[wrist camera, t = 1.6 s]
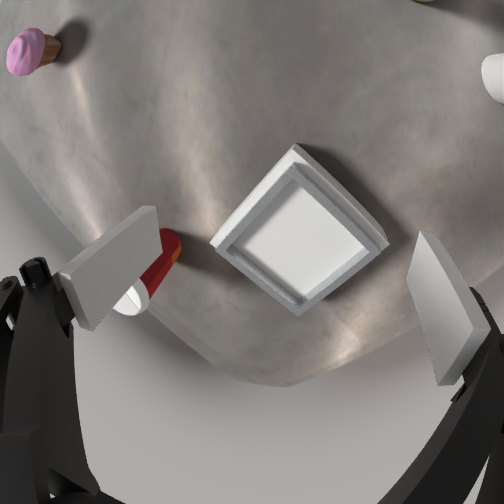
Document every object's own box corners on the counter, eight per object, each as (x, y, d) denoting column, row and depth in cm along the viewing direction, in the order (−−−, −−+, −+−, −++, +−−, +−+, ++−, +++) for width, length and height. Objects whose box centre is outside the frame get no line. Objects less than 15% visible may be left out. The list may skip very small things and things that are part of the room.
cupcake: (75, 37, 30) (30, 36, 21) (54, 79, 34) (11, 86, 26) (52, 23, 28) (11, 22, 20) (34, 62, 33) (-6, 68, 24)
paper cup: (141, 223, 45) (87, 268, 33) (181, 220, 43) (131, 270, 31) (154, 264, 48) (109, 316, 36) (193, 264, 46) (152, 322, 34)
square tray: (221, 226, 42) (203, 250, 36) (295, 142, 34) (290, 152, 28) (302, 293, 44) (298, 324, 38) (382, 227, 36) (392, 252, 30)
